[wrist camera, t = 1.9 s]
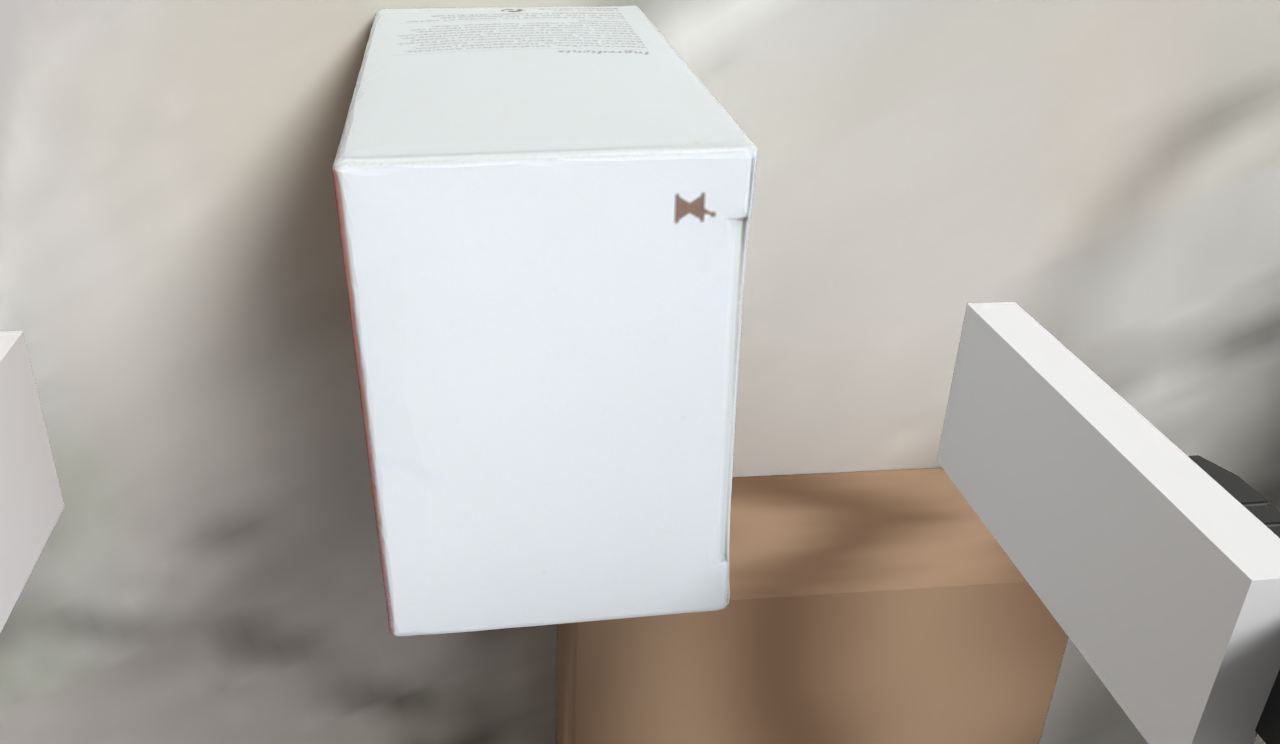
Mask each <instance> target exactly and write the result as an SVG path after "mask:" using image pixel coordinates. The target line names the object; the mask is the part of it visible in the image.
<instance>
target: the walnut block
mask: <svg viewBox="0 0 1280 744" xmlns="http://www.w3.org/2000/svg"><path fill="white" fill-rule="evenodd" d="M729 569H730V573H729V584H730V598H729V604H728V605H727V606H726V607H725V608H724V609H721V610H717V611H705V612H692V613H680V614H668V615H656V616H645V617H633V618H622V619H610V620H598V621H587V622H575V623H564V624H558V634H557V724H556V744H1039V741H1040V737H1041V734H1042V730H1043V727H1044V723H1045V720H1046V716H1047V712H1048V709H1049V705H1050V702H1051V698H1052V694H1053V691H1054V687H1055V684H1056V680H1057V677H1058V673H1059V669H1060V666H1061V662H1062V659H1063V655H1064V652H1065V648H1066V644H1067V641H1068V636H1067V634H1066V633H1065V632H1064V630H1063V629H1062V628H1061V626H1060V625H1059V624H1058V622H1057V621H1056V620H1055V618H1054V617H1053V616H1052V614H1051V613H1050V611H1049V610H1048V609H1047V607H1046V606H1045V605H1044V603H1043V602H1042V601H1041V599H1040V598H1039V597H1038V595H1037V594H1036V593H1035V591H1034V590H1033V589H1032V587H1031V586H1030V585H1029V583H1028V582H1027V581H1026V579H1025V578H1024V577H1023V575H1022V574H1021V573H1020V571H1019V570H1018V569H1017V567H1016V566H1015V565H1014V563H1013V562H1012V561H1011V559H1010V558H1009V556H1008V555H1007V554H1006V552H1005V551H1004V550H1003V548H1002V547H1001V546H1000V544H999V543H998V542H997V540H996V539H995V538H994V536H993V535H992V534H991V532H990V531H989V530H988V528H987V527H986V526H985V524H984V523H983V522H982V520H981V519H980V518H979V516H978V515H977V514H976V512H975V511H974V510H973V508H972V507H971V506H970V504H969V503H968V501H967V500H966V499H965V497H964V496H963V495H962V493H961V492H960V491H959V489H958V488H957V487H956V485H955V484H954V483H953V481H952V480H951V479H950V477H949V476H948V475H947V473H946V472H945V471H944V469H943V468H931V469H909V470H887V471H865V472H843V473H821V474H799V475H777V476H754V477H732V490H731V509H730V541H729Z"/></svg>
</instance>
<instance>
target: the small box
mask: <svg viewBox="0 0 1280 744" xmlns="http://www.w3.org/2000/svg"><path fill="white" fill-rule="evenodd" d="M757 159H758V150H757V148H756V146H755V145H754V144H753V143H752V141H751V140H750V139H749V138H748V137H747V136H746V135H745V133H744V132H743V131H742V130H741V128H740V127H739V126H738V125H737V123H736V122H735V121H734V120H733V119H732V118H731V116H730V115H729V114H728V113H727V111H726V110H725V109H724V108H723V107H722V106H721V105H720V103H719V102H718V101H717V100H716V99H715V98H714V96H713V95H712V94H711V93H710V92H709V91H708V89H707V88H706V87H705V86H704V85H703V83H702V82H701V81H700V80H699V78H698V77H697V76H696V75H695V74H694V72H693V71H692V70H691V69H690V68H689V66H688V65H687V64H686V63H685V62H684V61H683V59H682V58H681V57H680V56H679V55H678V54H677V52H676V51H675V50H674V49H673V47H672V46H671V45H670V44H669V43H668V41H667V40H666V39H665V38H664V37H663V36H662V35H661V33H660V32H659V31H658V30H657V29H656V27H655V26H654V25H653V24H652V23H651V22H650V20H649V19H648V18H647V17H646V16H645V15H644V13H643V12H642V11H641V10H640V9H639V8H638V7H637V6H611V7H513V8H427V9H380V10H378V11H377V13H376V14H375V18H374V22H373V25H372V28H371V31H370V35H369V39H368V42H367V46H366V49H365V53H364V57H363V61H362V64H361V68H360V71H359V75H358V78H357V82H356V86H355V89H354V93H353V97H352V100H351V104H350V107H349V111H348V115H347V119H346V122H345V126H344V130H343V133H342V137H341V140H340V144H339V147H338V150H337V154H336V157H335V160H334V163H333V167H332V172H333V179H334V185H335V194H336V202H337V211H338V219H339V226H340V234H341V241H342V248H343V256H344V265H345V273H346V282H347V290H348V299H349V307H350V316H351V324H352V332H353V340H354V348H355V356H356V364H357V372H358V380H359V388H360V396H361V404H362V411H363V419H364V428H365V436H366V444H367V452H368V460H369V468H370V476H371V484H372V492H373V500H374V507H375V515H376V523H377V531H378V538H379V547H380V556H381V565H382V573H383V580H384V588H385V595H386V603H387V611H388V620H389V630H390V634H392V635H394V636H397V637H399V636H412V635H428V634H445V633H458V632H471V631H482V630H493V629H504V628H515V627H528V626H541V625H552V624H564V623H575V622H587V621H598V620H610V619H622V618H633V617H645V616H656V615H668V614H680V613H692V612H705V611H717V610H721V609H724V608H725V607H726V606H727V605H728V604H729V598H730V584H729V573H730V569H729V541H730V509H731V490H732V473H733V456H734V438H735V417H736V398H737V383H738V367H739V351H740V337H741V321H742V304H743V292H744V280H745V269H746V255H747V243H748V234H749V225H750V219H751V213H752V204H753V194H754V185H755V176H756V167H757Z"/></svg>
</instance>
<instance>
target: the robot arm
mask: <svg viewBox="0 0 1280 744" xmlns="http://www.w3.org/2000/svg"><path fill="white" fill-rule="evenodd" d="M937 461H938V463H939V464H940V465H941V467H942V468H943V469H944V471H945V472H946V473H947V475H948V476H949V477H950V479H951V480H952V481H953V483H954V484H955V485H956V487H957V488H958V489H959V491H960V492H961V493H962V495H963V496H964V497H965V499H966V500H967V501H968V503H969V504H970V506H971V507H972V508H973V510H974V511H975V512H976V514H977V515H978V516H979V518H980V519H981V520H982V522H983V523H984V524H985V526H986V527H987V528H988V530H989V531H990V532H991V534H992V535H993V536H994V538H995V539H996V540H997V542H998V543H999V544H1000V546H1001V547H1002V548H1003V550H1004V551H1005V552H1006V554H1007V555H1008V556H1009V558H1010V559H1011V561H1012V562H1013V563H1014V565H1015V566H1016V567H1017V569H1018V570H1019V571H1020V573H1021V574H1022V575H1023V577H1024V578H1025V579H1026V581H1027V582H1028V583H1029V585H1030V586H1031V587H1032V589H1033V590H1034V591H1035V593H1036V594H1037V595H1038V597H1039V598H1040V599H1041V601H1042V602H1043V603H1044V605H1045V606H1046V607H1047V609H1048V610H1049V611H1050V613H1051V614H1052V616H1053V617H1054V618H1055V620H1056V621H1057V622H1058V624H1059V625H1060V626H1061V628H1062V629H1063V630H1064V632H1065V633H1066V634H1067V636H1068V637H1069V638H1070V640H1071V641H1072V642H1073V644H1074V645H1075V646H1076V648H1077V649H1078V650H1079V652H1080V653H1081V654H1082V656H1083V657H1084V658H1085V660H1086V661H1087V662H1088V664H1089V665H1090V666H1091V668H1092V669H1093V671H1094V672H1095V673H1096V675H1097V676H1098V677H1099V679H1100V680H1101V681H1102V683H1103V684H1104V685H1105V687H1106V688H1107V689H1108V691H1109V692H1110V693H1111V695H1112V696H1113V697H1114V699H1115V700H1116V701H1117V703H1118V704H1119V705H1120V707H1121V708H1122V709H1123V711H1124V712H1125V713H1126V715H1127V716H1128V717H1129V719H1130V720H1131V721H1132V723H1133V724H1134V726H1135V727H1136V728H1137V730H1138V731H1139V732H1140V734H1141V735H1142V736H1143V738H1144V739H1145V740H1146V742H1147V743H1148V744H1253V742H1254V740H1255V737H1256V735H1257V733H1258V735H1259V736H1260V737H1261V738H1262V739H1263V740H1264V741H1265V743H1266V744H1280V512H1279V511H1278V510H1277V509H1276V508H1274V507H1273V506H1267V501H1266V500H1265V499H1264V498H1263V497H1262V496H1260V495H1259V494H1258V493H1257V492H1256V491H1255V490H1253V489H1252V488H1251V487H1250V486H1249V485H1248V484H1246V483H1245V482H1244V481H1243V480H1242V479H1241V478H1239V477H1238V476H1236V475H1235V474H1233V473H1231V472H1229V471H1227V470H1225V469H1223V468H1221V467H1219V466H1217V465H1216V464H1214V463H1212V462H1210V461H1208V460H1206V459H1204V458H1202V457H1200V456H1187V455H1186V454H1185V453H1184V452H1182V451H1181V450H1180V449H1179V448H1178V447H1177V446H1176V445H1175V444H1173V443H1172V442H1171V441H1170V440H1169V439H1168V438H1167V437H1166V436H1164V435H1163V434H1162V433H1161V432H1160V431H1159V430H1158V429H1157V428H1155V427H1154V426H1153V425H1152V424H1151V423H1150V422H1149V421H1148V420H1146V419H1145V418H1144V417H1143V416H1142V415H1141V414H1140V413H1139V412H1138V411H1136V410H1135V409H1134V408H1133V407H1132V406H1131V405H1130V404H1129V403H1127V402H1126V401H1125V400H1124V399H1123V398H1122V397H1121V396H1120V395H1118V394H1117V393H1116V392H1115V391H1114V390H1113V389H1112V388H1111V387H1109V386H1108V385H1107V384H1106V383H1105V382H1104V381H1103V380H1102V379H1100V378H1099V377H1098V376H1097V375H1096V374H1095V373H1094V372H1093V371H1091V370H1090V369H1089V368H1088V367H1087V366H1086V365H1085V364H1084V363H1083V362H1081V361H1080V360H1079V359H1078V358H1077V357H1076V356H1075V355H1074V354H1072V353H1071V352H1070V351H1069V350H1068V349H1067V348H1066V347H1065V346H1063V345H1062V344H1061V343H1060V342H1059V341H1058V340H1057V339H1056V338H1054V337H1053V336H1052V335H1051V334H1050V333H1049V332H1048V331H1047V330H1045V329H1044V328H1043V327H1042V326H1041V325H1040V324H1039V323H1038V322H1037V321H1035V320H1034V319H1033V318H1032V317H1031V316H1030V315H1029V314H1028V313H1026V312H1025V311H1024V310H1023V309H1022V308H1021V307H1020V306H1019V305H1017V304H1016V303H1015V302H1001V303H967V307H966V312H965V317H964V322H963V327H962V332H961V337H960V343H959V348H958V353H957V358H956V363H955V368H954V373H953V378H952V383H951V389H950V394H949V399H948V404H947V409H946V414H945V419H944V424H943V429H942V434H941V440H940V445H939V450H938V455H937ZM63 509H64V502H63V498H62V494H61V490H60V485H59V481H58V477H57V473H56V468H55V464H54V460H53V456H52V451H51V447H50V443H49V439H48V434H47V430H46V426H45V422H44V417H43V413H42V409H41V405H40V400H39V396H38V392H37V388H36V383H35V379H34V375H33V371H32V366H31V362H30V358H29V353H28V349H27V345H26V341H25V336H24V332H23V331H6V332H0V633H1V631H2V629H3V627H4V625H5V623H6V621H7V619H8V617H9V615H10V613H11V611H12V609H13V607H14V605H15V603H16V601H17V599H18V597H19V595H20V594H21V592H22V590H23V588H24V586H25V584H26V582H27V580H28V578H29V576H30V574H31V572H32V570H33V568H34V566H35V564H36V562H37V560H38V558H39V556H40V554H41V552H42V550H43V548H44V546H45V544H46V542H47V540H48V538H49V536H50V534H51V532H52V530H53V528H54V526H55V524H56V522H57V520H58V519H59V517H60V515H61V513H62V511H63Z"/></svg>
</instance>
